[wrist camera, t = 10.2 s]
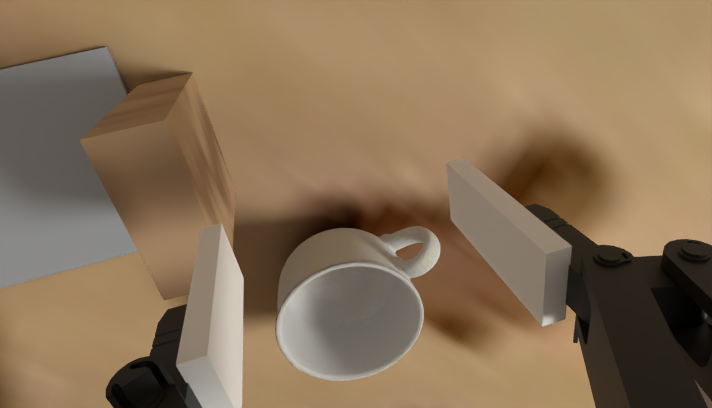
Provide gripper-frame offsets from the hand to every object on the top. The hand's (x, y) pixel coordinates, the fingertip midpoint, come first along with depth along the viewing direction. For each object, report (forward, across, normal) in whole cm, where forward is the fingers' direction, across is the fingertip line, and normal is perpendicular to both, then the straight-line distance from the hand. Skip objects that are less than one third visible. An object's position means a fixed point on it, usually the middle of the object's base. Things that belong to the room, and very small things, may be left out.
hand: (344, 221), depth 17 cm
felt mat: (+15, +18, 0) cm, 24 cm away
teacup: (+16, -1, +13) cm, 20 cm away
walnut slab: (+16, +8, 0) cm, 17 cm away
